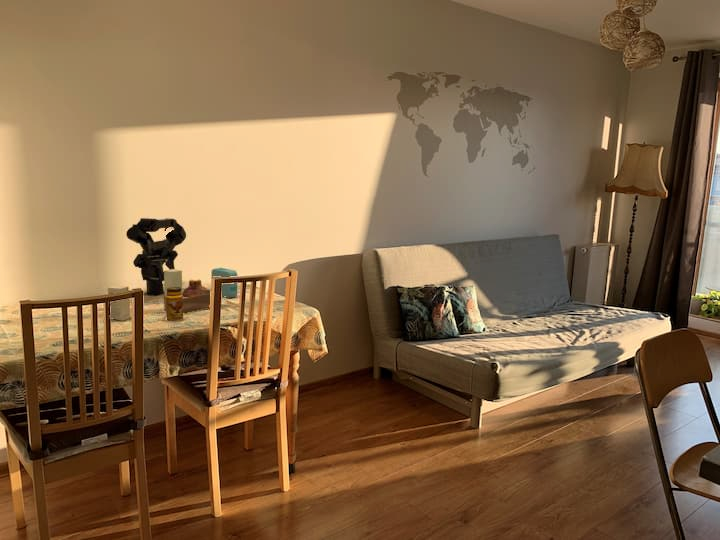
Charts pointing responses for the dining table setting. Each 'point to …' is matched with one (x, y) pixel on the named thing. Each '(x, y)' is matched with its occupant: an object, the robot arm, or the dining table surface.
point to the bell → (193, 288)
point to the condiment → (174, 305)
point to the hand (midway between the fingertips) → (165, 274)
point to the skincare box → (119, 304)
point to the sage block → (172, 279)
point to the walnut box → (195, 301)
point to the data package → (227, 289)
